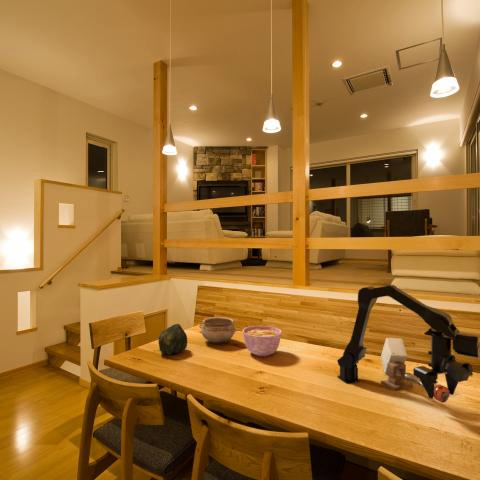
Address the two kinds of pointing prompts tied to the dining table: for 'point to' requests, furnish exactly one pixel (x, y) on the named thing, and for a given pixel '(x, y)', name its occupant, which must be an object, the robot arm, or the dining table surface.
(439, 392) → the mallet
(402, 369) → the wall mount bracket
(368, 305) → the robot arm
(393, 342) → the skincare box
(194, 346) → the dining table surface
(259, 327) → the bowl of food
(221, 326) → the cooking pot
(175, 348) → the squash
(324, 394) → the dining table surface
